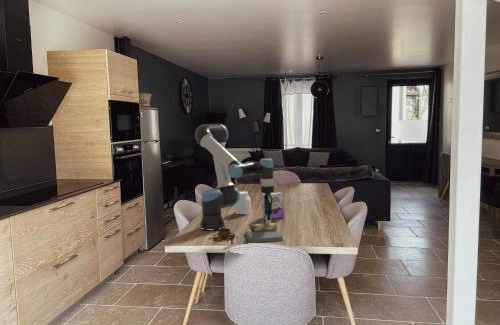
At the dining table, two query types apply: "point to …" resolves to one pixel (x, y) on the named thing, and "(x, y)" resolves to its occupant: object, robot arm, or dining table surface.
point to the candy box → (275, 206)
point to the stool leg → (263, 227)
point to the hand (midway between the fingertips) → (268, 225)
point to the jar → (243, 204)
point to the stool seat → (263, 235)
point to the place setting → (225, 234)
